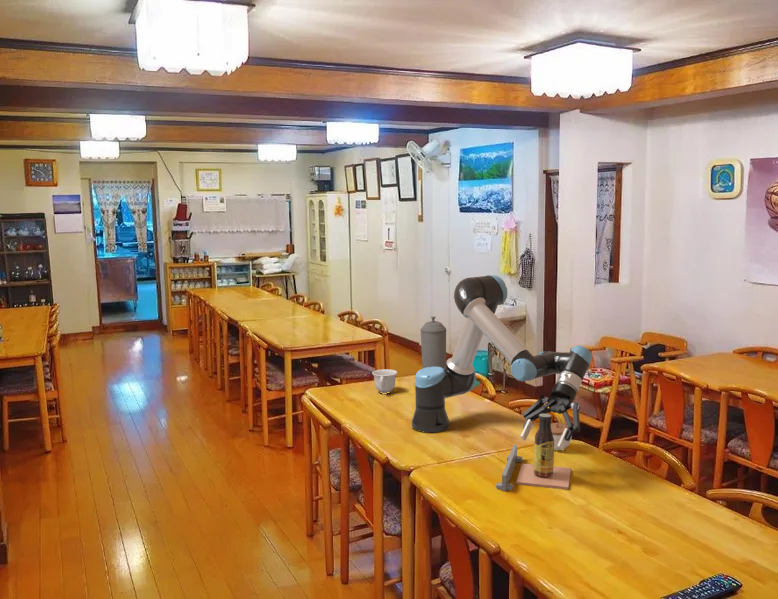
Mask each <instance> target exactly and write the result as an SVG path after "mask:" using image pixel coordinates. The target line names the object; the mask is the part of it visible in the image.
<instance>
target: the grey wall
mask: <svg viewBox="0 0 778 599" xmlns="http://www.w3.org/2000/svg"><path fill="white" fill-rule="evenodd" d="M521 462H522V463H523V456H519V455H518V444H513V446H512V448H511V451H510V453H509V455H507V457H506V464H505V467H504V469H503V472H502V475H501V482H497V483H496V486H495V488H497V489H496V490H501V489H502V490H501V491H502V492H506V491H510V490H511V491H513V490H514V483H509V482H510V481H511V477H512V474H513V472H514V470H515V469H514V468H515V466H516V464H517V463H521ZM515 463H516V464H515ZM509 480H510V481H509Z"/></svg>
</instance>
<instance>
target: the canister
mask: <svg viewBox="0 0 778 599" xmlns="http://www.w3.org/2000/svg"><path fill="white" fill-rule="evenodd" d="M436 318H437V316H430V319H431V321H426V322H425V323H424V324H423V325H422V327H421V328H420V343H421V345H420V346H421V348H420V350H421V369H423V368H427V367H441V368H443V369H444V368H445V365H446V362H447V332H448V331H447V328H446V327H445V325H443V324H444V323H442V322H441V321H437V320H435V319H436Z"/></svg>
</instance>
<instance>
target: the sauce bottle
mask: <svg viewBox="0 0 778 599" xmlns="http://www.w3.org/2000/svg"><path fill="white" fill-rule="evenodd" d="M552 417H553V416H552V414H549V413H546V414H539V418H538V420H539V422H538V429H537V431H536V432H535V435H534V445H533V446H534V448H533V464H534V474H535V475H537V476H539V477H550V476H551V475H552V474H553V466H554V463H555V462H554V458H555V457H554V456H555V451H554V438H553V434H552V431H551V423H552V420H553V418H552Z"/></svg>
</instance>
